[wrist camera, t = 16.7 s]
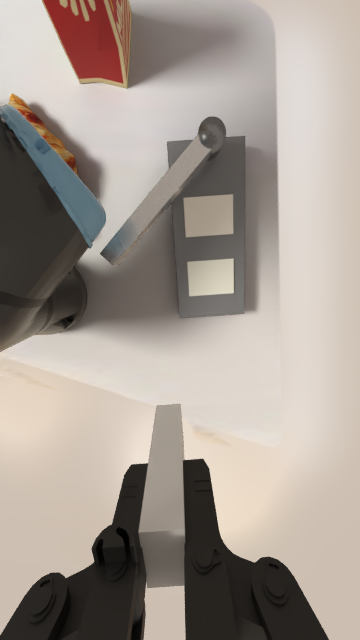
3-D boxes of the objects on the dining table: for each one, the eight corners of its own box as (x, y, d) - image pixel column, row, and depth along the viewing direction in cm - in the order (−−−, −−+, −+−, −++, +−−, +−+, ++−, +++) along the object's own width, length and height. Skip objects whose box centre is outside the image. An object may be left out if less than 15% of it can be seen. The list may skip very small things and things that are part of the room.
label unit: (179, 314, 43) (179, 321, 38) (167, 151, 36) (166, 133, 31) (239, 310, 43) (248, 316, 38) (239, 146, 36) (249, 127, 31)
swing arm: (103, 252, 35) (96, 250, 32) (208, 124, 31) (212, 109, 28) (120, 267, 35) (116, 268, 32) (226, 144, 31) (231, 132, 28)
